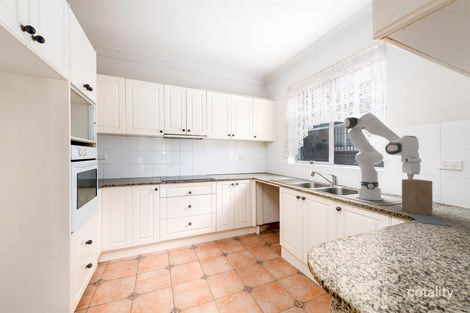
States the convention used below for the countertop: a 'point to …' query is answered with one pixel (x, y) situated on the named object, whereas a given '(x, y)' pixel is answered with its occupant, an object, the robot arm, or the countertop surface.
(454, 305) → the countertop surface
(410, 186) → the wooden block
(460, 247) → the countertop surface
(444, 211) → the countertop surface
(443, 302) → the countertop surface
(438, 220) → the mat
